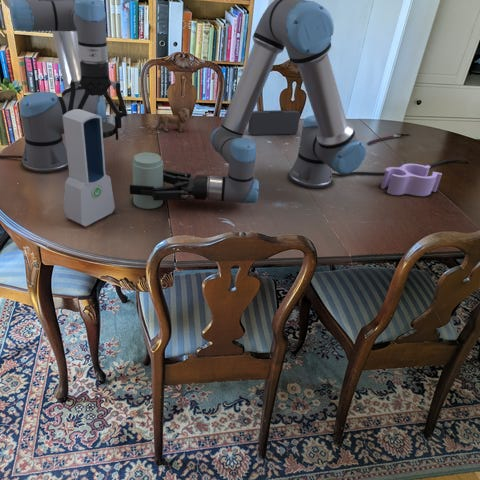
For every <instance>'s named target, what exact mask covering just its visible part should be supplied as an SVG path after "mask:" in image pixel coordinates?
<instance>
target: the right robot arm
mask: <svg viewBox="0 0 480 480" xmlns="http://www.w3.org/2000/svg"><path fill="white" fill-rule="evenodd" d="M334 27H335V25H334V19H333V18H332V15H331V13H330V12H329V11H328V9H327V8H326V7H325V6H323V5H321V4H319V3H318V2H316V1H313V0H273V1H272V2H271V3H269V5H268V6H267V7H266V9H265V10H264V11H263V13H262V15H261V17H260V18H259V21H258V23H257V25H256V28H255V30H254V33H253V34H252V35H253V36H252V41H253V44H252V47H251V49H250V53H249V54H248V58H247V59H246V63H245V64H244V67H243V70H242V72H241V75H240V78H239V80H238V82H237V85H236V87H235V89H234V92H233V94H232V97H231V100H230V102H229V105H228V107H227V110H226V111H225V115H224V116H223V120H222V122H221V125H220V126H219V127H217V128H216V129H214V130H213V131H212V132H211V134H210V144H211V146H212V147H213V149H214V150H215V151H216V153H218V154H219V155H220V156H221V157H222V159H224V161H225V162H226V163H227V164H228V173H227V176H221V175H209V176H208V175H206V174H196V175H195V176H194V178H192V174H191V173H189V172H181V171H180V172H179V171H174V170H168V169H164V168H163V183H166V184H169V185H166V186H163V187H159V188H154V186H139V185H133V184H129V195H133V194H134V195H147V196H152V197H153V200H155V201H157V200H163V201H185V202H186V201H188V197H189V196H193V199H194V200H198V201H205V200H207V201H214V202H226V203H237V204H255V203H256V202H257V201H258V199H259V190H260V182H259V180H258V179H257V178H254V172H255V164H256V158H257V144H256V142H255V141H254V140H252V139H250V138H246V137H244V135H245V132H246V129H247V127H248V126H249V120H250V118H251V115H252V113H253V111H255V108H256V106H257V104H258V102H259V99H260V96H261V94H262V92H263V90H264V87H265V85H266V82H267V80H268V78H269V76H270V73H271V71H272V69H273V66H274V64H275V62H276V60H277V57H278V55H279V54H280V53H283V52H284V49H285V50H286V53H287V55H288V58H289V61H290V63H291V64H294V65H296V66H297V68H298V70H299V74H300V76H301V79H302V82H303V86H304V88H305V89H304V90H305V91H306V94H307V97H308V100H309V104H310V107H311V110H312V113H313V115H308V116H307V117H305V118H304V120H303V124H302V127H301V134H300V141H299V147H298V153H297V157H296V159H295V161H294V163H293V165H292V167H291V169H290V170H289V175H288V177H289V180H290V181H291V182H292V183H294V184H295V185H297V186H300V187H302V188H307V189H314V190H315V189H316V190H319V189H325V188H328V187H329V186H331V185H332V181H333V176H335V177H346V176H352V175H369V176H371V175H373V176H374V175H375V176H378V175H381V176H384V175H385V171H384V172H383V171H380V172H379V171H374V172H373V171H356V170H357V169H358V168H359V167H360V166H361V165H362V163H363V161H364V160H365V158H366V154H367V148H366V145H365V144H364V143H363V142H362V141H361V140H359V139H358V137H357V135H356V131H355V127H354V125H353V123H352V122H349V121H348V120H347V118H346V114H345V111H344V108H343V104H342V100H341V96H340V93H339V89H338V86H337V81H336V78H335V74H334V72H333V68H332V64H331V61H330V57H329V52H330V51H331V49H332V42H331V41H332V36H334V29H335V28H334ZM451 159H452V158H451ZM451 159H450V160H448V159H444V160H440V161H437V162H434V163H432V164H428V165H429V166H430V168H432V167H435V166H438V165H441V164H444V163H447V162H461V161H460V160H467V159H466V158H463V157H462V158H454V159H455V160H451ZM464 162H466V163H467V164H468V165H471V162H470V161H469V160H468V161H464ZM332 171H333V172H332Z"/></svg>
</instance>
